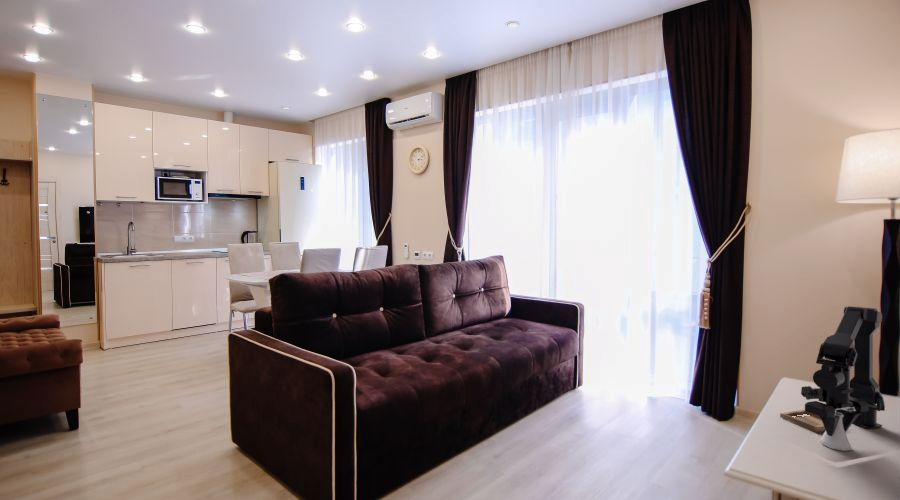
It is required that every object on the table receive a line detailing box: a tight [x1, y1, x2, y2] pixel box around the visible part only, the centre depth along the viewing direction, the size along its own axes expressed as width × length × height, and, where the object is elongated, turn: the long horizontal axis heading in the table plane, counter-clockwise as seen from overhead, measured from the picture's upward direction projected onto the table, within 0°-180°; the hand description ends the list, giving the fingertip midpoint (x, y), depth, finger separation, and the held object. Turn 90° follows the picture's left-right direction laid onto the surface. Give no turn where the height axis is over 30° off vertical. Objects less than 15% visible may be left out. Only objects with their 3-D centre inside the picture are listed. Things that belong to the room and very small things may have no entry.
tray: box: [779, 409, 826, 434], centre depth 151 cm, size 12×12×2 cm
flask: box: [819, 412, 853, 452], centre depth 135 cm, size 7×7×10 cm
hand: (836, 434), depth 135 cm, fingers closed on flask, 5 cm apart
